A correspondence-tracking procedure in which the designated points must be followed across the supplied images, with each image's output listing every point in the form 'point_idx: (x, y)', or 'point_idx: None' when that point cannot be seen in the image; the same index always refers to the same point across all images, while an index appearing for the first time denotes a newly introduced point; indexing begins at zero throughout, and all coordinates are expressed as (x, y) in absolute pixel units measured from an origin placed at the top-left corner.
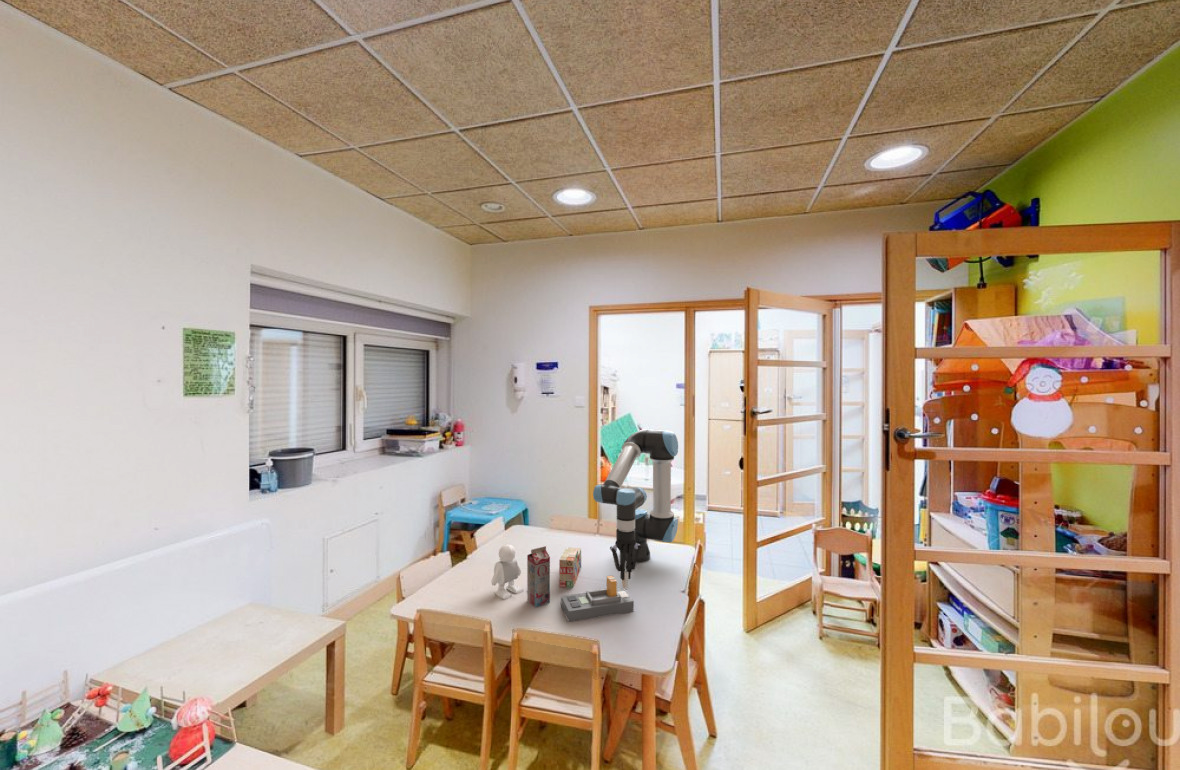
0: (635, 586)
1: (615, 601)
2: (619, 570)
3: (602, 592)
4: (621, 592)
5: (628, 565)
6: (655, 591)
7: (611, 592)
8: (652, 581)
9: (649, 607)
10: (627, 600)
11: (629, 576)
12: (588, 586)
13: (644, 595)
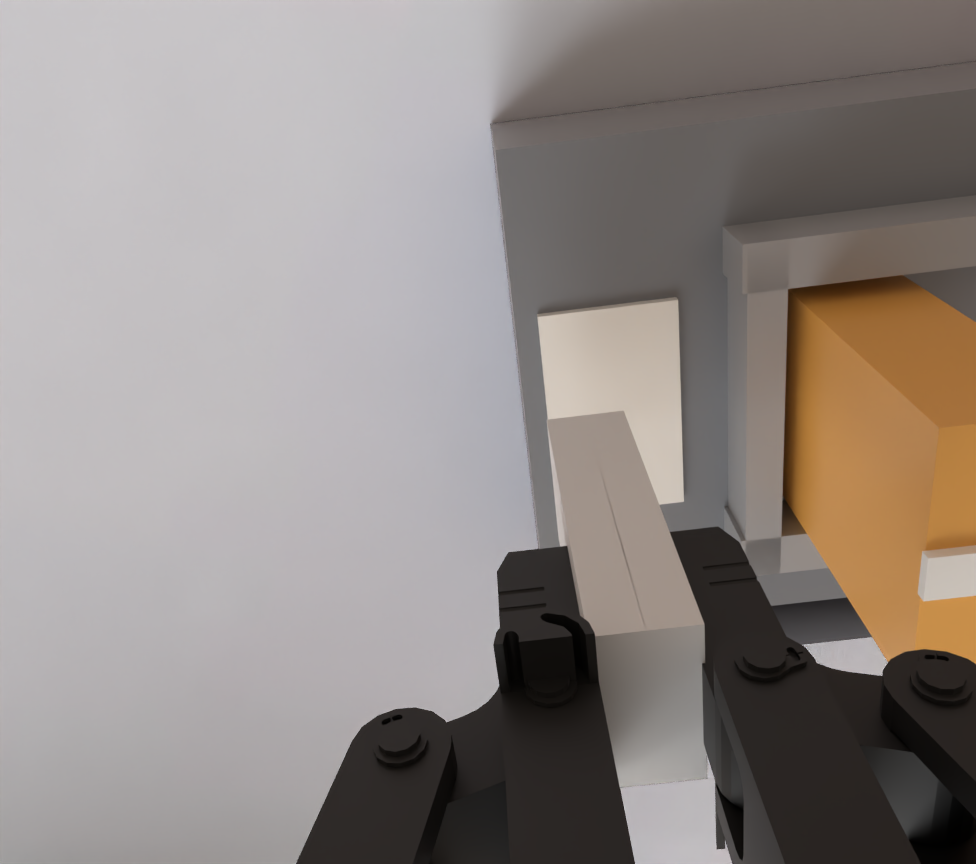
0: (295, 742)
1: (837, 197)
2: (935, 668)
3: None
4: None
5: (617, 816)
6: (41, 603)
7: (949, 314)
8: (49, 816)
9: (205, 197)
10: (604, 195)
11: (525, 589)
12: None
13: (218, 530)
